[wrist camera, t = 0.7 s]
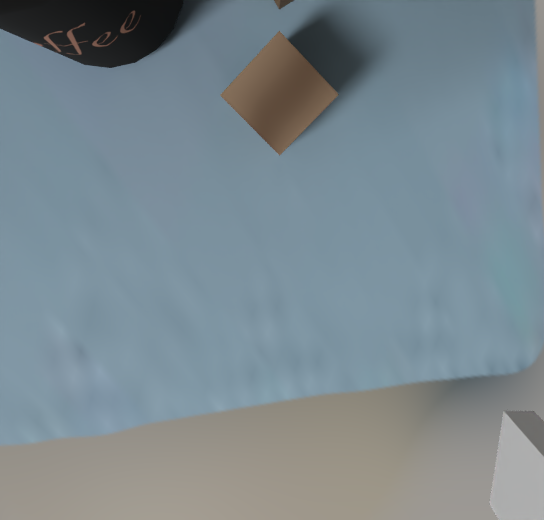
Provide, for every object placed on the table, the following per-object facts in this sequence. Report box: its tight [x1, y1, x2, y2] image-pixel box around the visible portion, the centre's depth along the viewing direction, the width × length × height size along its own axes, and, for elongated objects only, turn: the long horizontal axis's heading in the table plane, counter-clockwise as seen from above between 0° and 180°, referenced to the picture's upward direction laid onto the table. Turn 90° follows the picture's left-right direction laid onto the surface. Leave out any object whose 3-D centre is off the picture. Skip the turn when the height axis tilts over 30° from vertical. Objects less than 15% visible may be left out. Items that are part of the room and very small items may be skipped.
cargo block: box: [220, 31, 339, 155], centre depth 33 cm, size 5×5×5 cm
